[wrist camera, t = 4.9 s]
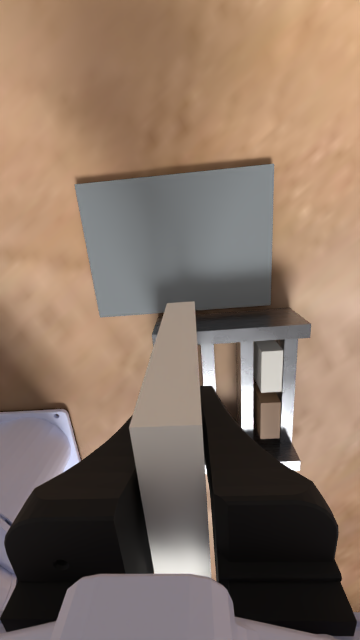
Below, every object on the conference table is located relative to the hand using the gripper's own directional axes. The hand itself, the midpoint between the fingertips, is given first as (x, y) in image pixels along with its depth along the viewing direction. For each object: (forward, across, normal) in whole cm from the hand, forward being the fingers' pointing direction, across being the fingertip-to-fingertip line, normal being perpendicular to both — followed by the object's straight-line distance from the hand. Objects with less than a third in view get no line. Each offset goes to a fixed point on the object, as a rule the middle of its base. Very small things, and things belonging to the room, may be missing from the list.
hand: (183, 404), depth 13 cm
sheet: (+4, 0, 0) cm, 4 cm away
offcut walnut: (+11, -6, +8) cm, 15 cm away
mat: (+10, 0, -7) cm, 12 cm away
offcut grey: (+11, -6, +3) cm, 13 cm away
